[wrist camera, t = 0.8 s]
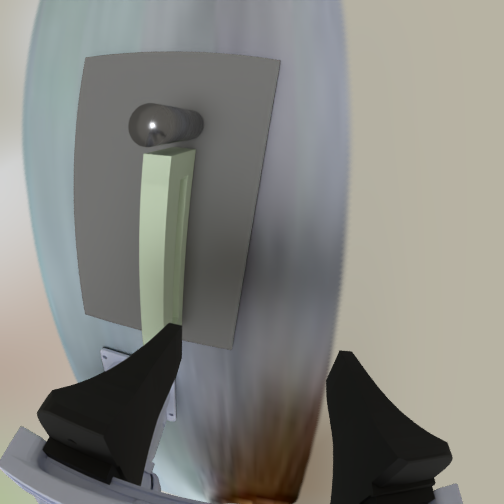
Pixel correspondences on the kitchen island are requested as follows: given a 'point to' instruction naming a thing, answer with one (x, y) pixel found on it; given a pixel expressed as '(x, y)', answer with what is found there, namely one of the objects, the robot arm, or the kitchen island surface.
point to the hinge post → (164, 125)
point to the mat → (203, 182)
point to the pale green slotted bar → (163, 236)
